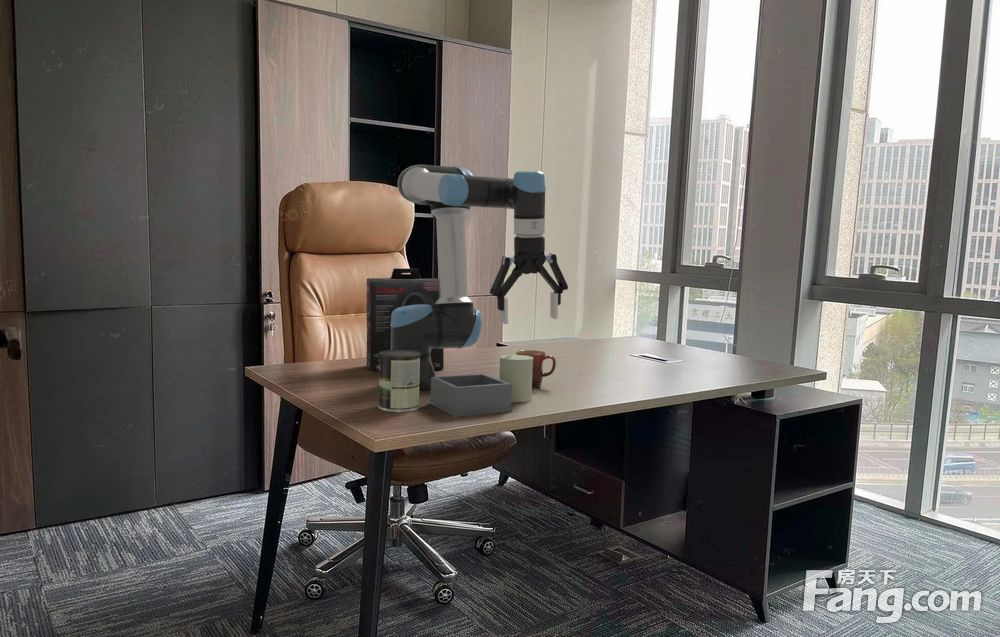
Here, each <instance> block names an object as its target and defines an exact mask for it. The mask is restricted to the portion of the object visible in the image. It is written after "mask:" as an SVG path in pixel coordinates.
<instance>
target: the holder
mask: <svg viewBox="0 0 1000 637" xmlns="http://www.w3.org/2000/svg"><path fill="white" fill-rule="evenodd" d="M511 393H512V384H511V383H508V382H505V381H503V380H500V378H497V377H494V376H491V375H489V374H486V373H474V374H473V373H472V374H459V375H443V376H442V375H441V376H436V377H431V388H430V399H428V404H429V405H431V406H433V407H434V408H437V409H438V410H441V411H443V412H445V413H446V414H448V415H450V416H452V417H454V418H456V417H459V418H460V417H469V416H479V415H488V414H489V415H490V414H491V415H492V414H500V413H501V414H502V413H510V412H511V413H512V411H513V410H514V408H513V407H512V402H511ZM513 412H514V411H513Z"/></svg>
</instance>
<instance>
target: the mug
mask: <svg viewBox="0 0 1000 637" xmlns="http://www.w3.org/2000/svg"><path fill="white" fill-rule="evenodd" d="M515 355H526V356H531V357H533V369H532V389H537V388H540V387H541V386H542V383H543V379H544V378H545V377H549V376H551V375H552V374H553V373H554V371H555V370H556V367H557V359H556V358H555V357H554V356H553V355H547V353H546V352H545V351H542V350H536V349H535V350H531V349H523V350H517V351H516V352H515ZM549 359H551V360H552V366H551V370H550V371H548V372H544V368H543V367H544V366H543V365H544V361H545V360H549Z"/></svg>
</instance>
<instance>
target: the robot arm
mask: <svg viewBox="0 0 1000 637" xmlns="http://www.w3.org/2000/svg"><path fill="white" fill-rule="evenodd" d="M545 179H546V178H545V174H544V172H542V171H539V170H532V171H531V170H529V171H528V170H527V171H526V170H525V171H524V170H521V171H520V170H519V171H516V172H515V173H514V175H513V178H511V177H495V176H494V177H493V176H482V175H481V176H479V175H473V174H472V173H471V171H470V170H468V169H467V168H464V167H457V166H447V165H446V166H445V165H432V164H429V165H428V164H415V165H414V164H413V165H410V166H409V167H407V168H405V169H404V170H402V171H401V173H400V174H399V175H398V178H397V189H398V193H399V194H400V196H401V197H402V198H403V199H405V200H406V201H408V202H410V203H413V204H416V205H423V206H430V213H431V214H432V215H433V216H434V217H435V219H436V241H437V242H436V243H437V244H436V245H437V246H436V248H437V270H438V272H437V274H438V279H439V299H438V300H437V301H436V302H435V303H434V308H435V309H432V307H431V305H427V304H421V305H409V306H403V307H399V308H396V309H395V310H394V311H393V312H392V315H391V324H390V327H391V350H412V351H417V352H420V372H419V391H421V390H431V377H437V375H436V371H435V369H433V366H432V362H431V349H442V348H444V349H463V348H469V347H472V346H474V345H475V344H476V343H477V341H478V339H480V338H479V337H480V335H481V331H482V324H483V323H482V315H481V313H480V312H481V311H480V310H478V309H477V308H475V307H474V302H473V300H472V299H471V298H470V297H469V294H468V290H469V289H468V265H467V264H468V263H467V262H468V261H467V236H466V235H467V234H466V230H467V229H466V217H467V215H468V214H470V212H471V209H470V208H472V207H475V208H476V207H479V208H492V209H493V208H494V209H505V210H506V209H509V210H513V234H514V235H515V236H514V237H513V247H514V248H513V251H514V255H513V257H512V256H511V257H510V256H502V258H501V265H500V268H499V270H498V272H497V274H496V276H495V279H494V281H493V283H492V286H491V288H490V289H489V294H490V295H492V296H494V297H496V299H497V307H496V308H497V310H498V311H500V322H501V323H502V324H503V325H508V324H509V308H508V307H509V304H508V302H509V299H508V298H509V297H506V295H507V294H508V293H509V292H510V290H511V289H512V288H513V286H514V285H515V283H516V282H517V280H518V279H519V278H520V277H522V275H523V274H524V275H530V274H534V275H535V274H539V275H540V276H541V277H542V279H543V280H544V281H545V282H546V283H547V285H548V286H549V287H550V289H552V290H553V291H550V306H549V307H550V315H549V316H550V318H552V319H554V320H558V318H559V316H558V315H559V310H558V309H559V306H561V303H562V297H561V296H562V294H563V293H564V291H567V290H568V289H569V285H568V283H567V281H566V279H565V277H564V274H563V273H562V270H561V269H560V266H559V264H558V257H557V256H558V255H556V254H555V253H552V252H550V253H548V254H545V251H546V240H545V236H544V234H545V232H546V230H545V229H546V220H545V219H546V218H545V216H546V190H547V189H546V188H547V187H546V184H545V183H546V182H545V181H546V180H545ZM545 262H547V263H548V265H549V267H550V269H551V271H552V274H553V275H554V277H555V280H556V281H555V280H554V278H553V277H552V276H551V275H550V273H549V272H548V270H547V269H546V268H545V266H544V264H545ZM512 264H514V268H513V269H512V270H511V273H510V274H509V275H508V277H507V279H506V276H507V274H508V272H509V270H510V267H511V266H512ZM505 279H506V280H505Z"/></svg>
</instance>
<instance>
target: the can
mask: <svg viewBox="0 0 1000 637" xmlns="http://www.w3.org/2000/svg"><path fill="white" fill-rule="evenodd" d="M532 369H533V357H531V356H526V355H517V354H503V355H501V356H499V379H500V380H503V381H505V382H508V383H511V384H512V393H511V403H514V402H522V403H528V401H529V402H531V401H532V400H533V395H532V394H533V393H532V392H533V388H532Z"/></svg>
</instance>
